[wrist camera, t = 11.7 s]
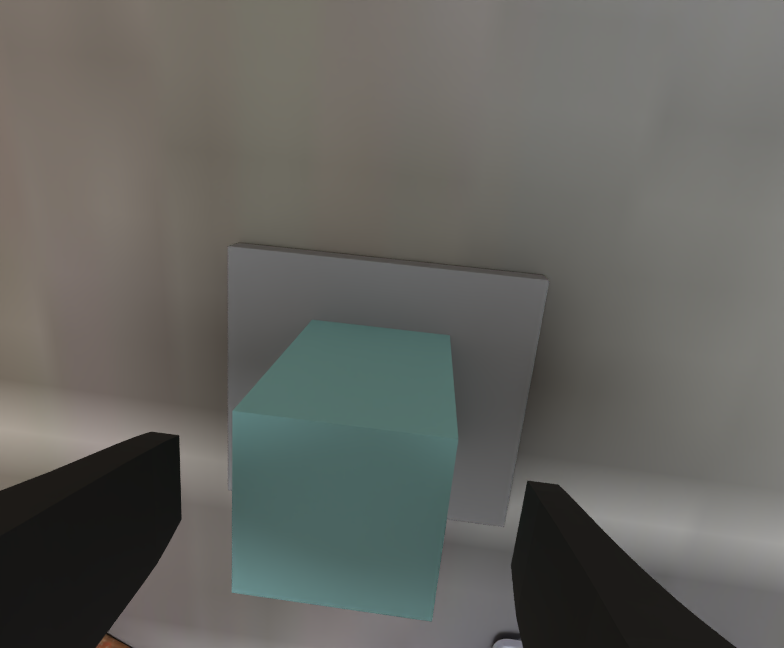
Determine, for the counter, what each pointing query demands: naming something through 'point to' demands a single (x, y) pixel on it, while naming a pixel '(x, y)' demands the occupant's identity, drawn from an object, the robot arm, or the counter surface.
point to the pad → (404, 312)
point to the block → (346, 471)
